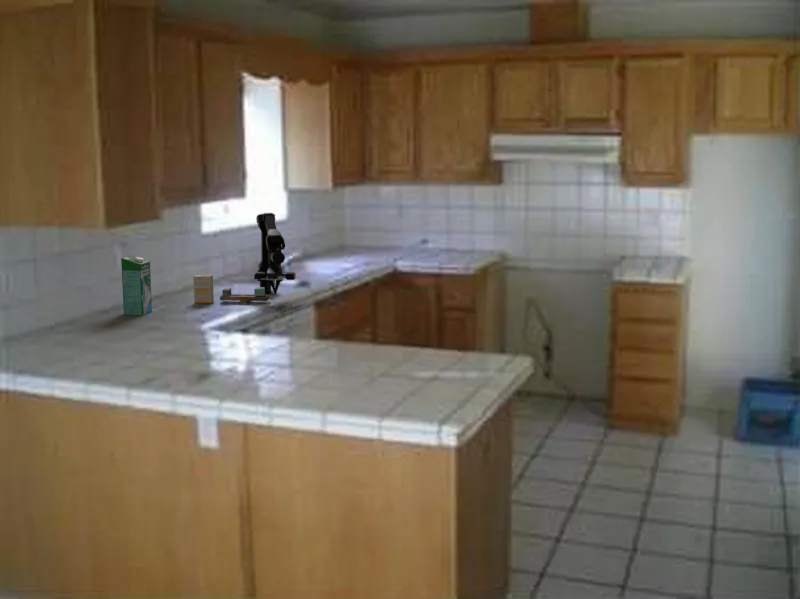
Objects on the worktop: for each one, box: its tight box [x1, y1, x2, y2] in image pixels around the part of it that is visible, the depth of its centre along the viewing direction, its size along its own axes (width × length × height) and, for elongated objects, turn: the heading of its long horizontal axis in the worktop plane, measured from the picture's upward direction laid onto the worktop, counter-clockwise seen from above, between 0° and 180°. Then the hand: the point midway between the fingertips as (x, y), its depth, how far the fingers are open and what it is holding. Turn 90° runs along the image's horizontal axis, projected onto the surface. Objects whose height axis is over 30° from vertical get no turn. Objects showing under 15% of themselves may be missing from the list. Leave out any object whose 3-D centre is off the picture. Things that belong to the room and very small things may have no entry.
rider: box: [254, 286, 266, 296], centre depth 432 cm, size 5×4×5 cm
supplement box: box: [192, 274, 215, 305], centre depth 431 cm, size 8×5×13 cm, turn 84°
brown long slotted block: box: [219, 287, 270, 305], centre depth 433 cm, size 9×22×6 cm, turn 88°
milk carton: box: [120, 255, 153, 316], centre depth 405 cm, size 9×9×25 cm
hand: (275, 293), depth 432 cm, fingers closed
